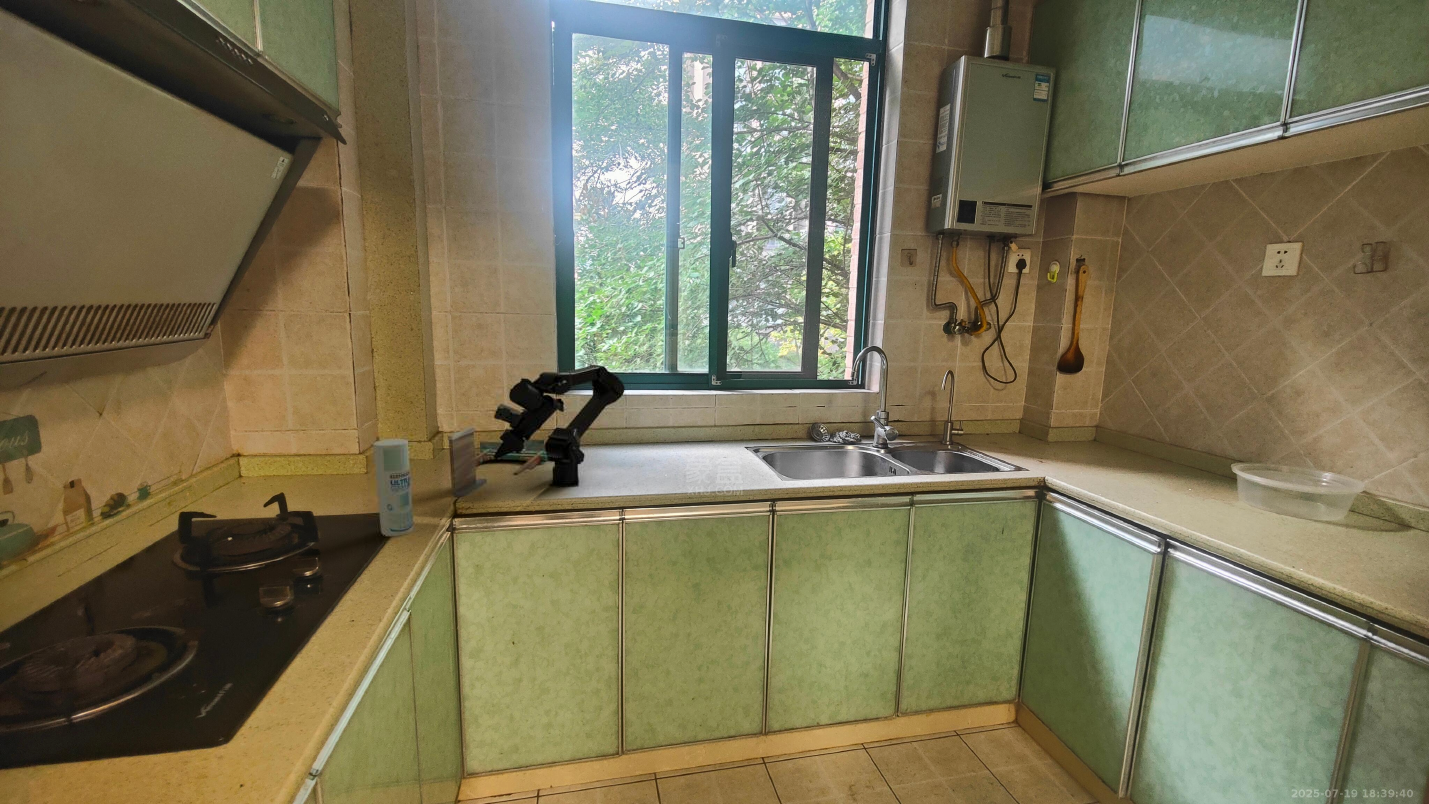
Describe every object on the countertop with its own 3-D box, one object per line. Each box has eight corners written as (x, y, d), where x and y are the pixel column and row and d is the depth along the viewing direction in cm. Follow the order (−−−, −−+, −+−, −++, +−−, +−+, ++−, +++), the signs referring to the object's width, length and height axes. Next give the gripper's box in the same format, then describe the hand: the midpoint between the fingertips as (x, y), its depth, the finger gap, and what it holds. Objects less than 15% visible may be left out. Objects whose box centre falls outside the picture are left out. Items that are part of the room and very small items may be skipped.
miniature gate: (440, 464, 169) (489, 434, 198) (442, 482, 170) (491, 450, 199) (530, 468, 166) (567, 437, 195) (532, 486, 167) (567, 453, 196)
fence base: (487, 485, 160) (486, 478, 159) (463, 500, 148) (462, 492, 147) (480, 485, 160) (479, 478, 159) (455, 499, 148) (455, 492, 148)
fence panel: (477, 481, 159) (474, 427, 156) (456, 493, 149) (452, 435, 146) (472, 481, 159) (469, 427, 156) (450, 493, 149) (447, 435, 146)
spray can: (392, 539, 124) (385, 447, 120) (374, 532, 127) (366, 443, 124) (420, 529, 129) (414, 440, 126) (402, 523, 132) (396, 437, 129)
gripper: (518, 388, 160) (478, 429, 160) (506, 400, 142) (461, 446, 142) (549, 415, 163) (509, 455, 163) (541, 430, 145) (497, 475, 145)
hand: (494, 457), depth 153 cm, fingers closed
